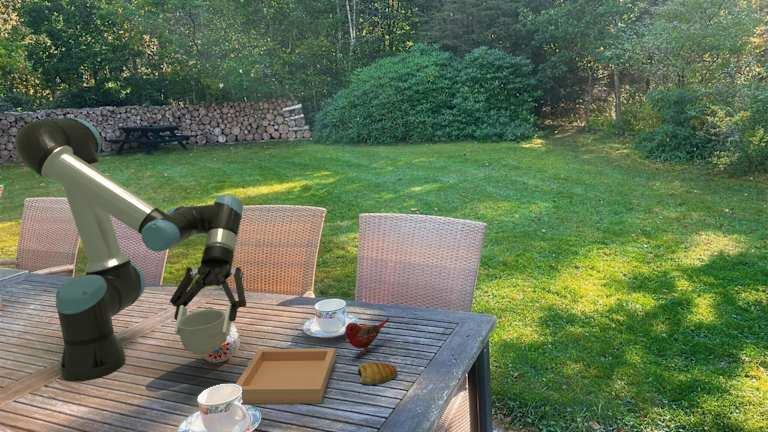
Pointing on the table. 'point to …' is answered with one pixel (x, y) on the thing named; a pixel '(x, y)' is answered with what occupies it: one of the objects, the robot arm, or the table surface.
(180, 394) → the table surface
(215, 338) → the teacup
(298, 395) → the shallow wooden tray
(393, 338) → the table surface
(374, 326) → the decorative bird figurine
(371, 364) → the pastry
